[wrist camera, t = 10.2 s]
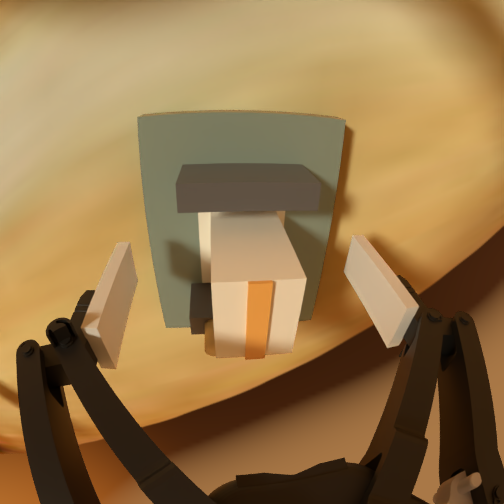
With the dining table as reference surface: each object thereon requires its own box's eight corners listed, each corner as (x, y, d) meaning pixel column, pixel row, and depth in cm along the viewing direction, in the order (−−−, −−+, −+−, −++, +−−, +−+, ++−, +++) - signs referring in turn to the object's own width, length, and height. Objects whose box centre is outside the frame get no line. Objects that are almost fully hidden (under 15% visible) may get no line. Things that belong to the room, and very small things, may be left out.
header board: (143, 114, 15) (104, 133, 10) (336, 116, 17) (395, 138, 11) (167, 315, 24) (160, 383, 18) (306, 308, 25) (330, 371, 19)
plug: (210, 211, 18) (211, 285, 12) (275, 210, 18) (308, 281, 12) (212, 277, 20) (216, 361, 14) (269, 275, 21) (292, 355, 15)
